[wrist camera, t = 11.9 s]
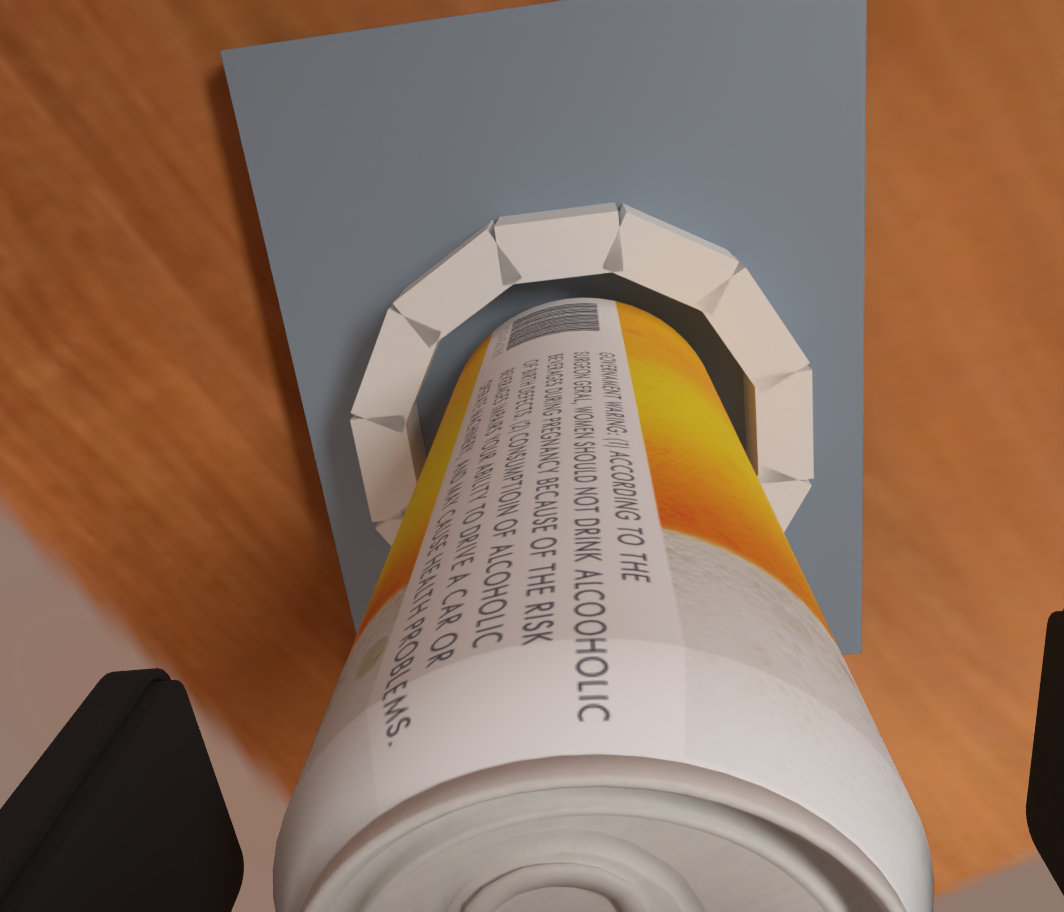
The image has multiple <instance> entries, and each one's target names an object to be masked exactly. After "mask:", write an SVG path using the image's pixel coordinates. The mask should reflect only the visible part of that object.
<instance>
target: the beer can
mask: <svg viewBox="0 0 1064 912" xmlns="http://www.w3.org/2000/svg"><path fill="white" fill-rule="evenodd" d="M273 895H274V903H275V909H276V912H933V899H934V876H933V868H932V861H931V854H930V848H929V845H928V842H927V839H926V835H925V832H924V829H923V825H922V822H921V819H920V817H919V815H918V813H917V811H916V809H915V807H914V805H913V803H912V801H911V798H910V796H909V794H908V792H907V790H906V788H905V786H904V784H903V782H902V780H901V777H900V775H899V773H898V771H897V769H896V767H895V765H894V763H893V761H892V759H891V757H890V754H889V752H888V750H887V748H886V746H885V744H884V742H883V740H882V738H881V736H880V733H879V731H878V729H877V727H876V725H875V723H874V721H873V719H872V717H871V715H870V713H869V710H868V708H867V706H866V704H865V702H864V700H863V698H862V696H861V694H860V692H859V689H858V687H857V685H856V683H855V681H854V679H853V677H852V675H851V673H850V671H849V668H848V666H847V664H846V662H845V660H844V658H843V656H842V654H841V652H840V650H839V648H838V645H837V643H836V641H835V639H834V637H833V635H832V633H831V631H830V629H829V627H828V624H827V622H826V620H825V618H824V616H823V614H822V612H821V610H820V608H819V606H818V603H817V601H816V599H815V597H814V595H813V593H812V591H811V589H810V587H809V585H808V583H807V580H806V578H805V576H804V574H803V572H802V570H801V568H800V566H799V564H798V562H797V559H796V557H795V555H794V553H793V551H792V549H791V547H790V545H789V543H788V541H787V539H786V536H785V534H784V532H783V530H782V528H781V526H780V524H779V522H778V520H777V518H776V515H775V513H774V511H773V509H772V507H771V505H770V503H769V501H768V499H767V497H766V494H765V492H764V490H763V488H762V486H761V484H760V482H759V480H758V478H757V476H756V474H755V471H754V469H753V467H752V465H751V463H750V461H749V459H748V457H747V455H746V453H745V450H744V448H743V446H742V444H741V442H740V440H739V438H738V436H737V434H736V432H735V430H734V427H733V425H732V423H731V421H730V419H729V417H728V415H727V413H726V411H725V409H724V406H723V404H722V402H721V400H720V398H719V396H718V394H717V392H716V390H715V388H714V385H713V383H712V381H711V379H710V377H709V375H708V373H707V371H706V369H705V367H704V365H703V363H702V362H701V360H700V358H699V357H698V355H697V354H696V352H695V351H694V350H693V349H692V347H691V346H690V345H689V344H688V343H687V341H686V340H685V339H684V338H683V337H682V336H681V335H680V334H678V333H677V332H676V331H675V330H674V329H673V328H672V327H670V326H669V325H668V324H666V323H665V322H663V321H662V320H661V319H659V318H657V317H655V316H654V315H652V314H650V313H648V312H646V311H644V310H642V309H639V308H637V307H634V306H632V305H629V304H625V303H621V302H618V301H613V300H607V299H601V298H570V299H562V300H557V301H552V302H548V303H545V304H542V305H538V306H535V307H533V308H530V309H528V310H526V311H524V312H522V313H519V314H518V315H516V316H514V317H513V318H511V319H509V320H508V321H506V322H505V323H503V324H502V325H501V326H499V327H498V328H497V329H495V330H494V331H493V332H492V333H491V334H490V335H489V336H488V337H487V338H486V339H485V340H484V341H483V342H482V343H481V344H480V345H479V346H478V348H477V349H476V350H475V351H474V353H473V354H472V355H471V357H470V359H469V360H468V362H467V363H466V365H465V367H464V369H463V371H462V373H461V375H460V377H459V379H458V382H457V384H456V387H455V389H454V392H453V394H452V397H451V399H450V402H449V404H448V407H447V409H446V412H445V414H444V417H443V419H442V422H441V424H440V427H439V429H438V432H437V434H436V437H435V439H434V442H433V444H432V447H431V449H430V452H429V454H428V457H427V459H426V462H425V464H424V467H423V469H422V472H421V474H420V477H419V479H418V482H417V484H416V487H415V489H414V492H413V494H412V497H411V499H410V502H409V504H408V507H407V509H406V512H405V514H404V517H403V519H402V522H401V524H400V527H399V529H398V532H397V534H396V537H395V539H394V542H393V544H392V547H391V549H390V552H389V554H388V557H387V559H386V562H385V565H384V567H383V570H382V572H381V575H380V577H379V580H378V582H377V585H376V587H375V590H374V592H373V595H372V597H371V600H370V602H369V605H368V607H367V610H366V612H365V615H364V617H363V620H362V622H361V625H360V627H359V630H358V632H357V635H356V637H355V640H354V642H353V645H352V647H351V650H350V652H349V655H348V657H347V660H346V662H345V665H344V667H343V670H342V672H341V675H340V677H339V680H338V682H337V685H336V687H335V690H334V692H333V695H332V697H331V700H330V702H329V705H328V707H327V710H326V712H325V715H324V717H323V720H322V722H321V725H320V727H319V730H318V732H317V735H316V737H315V740H314V742H313V745H312V747H311V750H310V752H309V755H308V757H307V760H306V762H305V765H304V767H303V770H302V772H301V775H300V777H299V780H298V782H297V785H296V787H295V790H294V792H293V795H292V798H291V800H290V803H289V805H288V808H287V810H286V813H285V816H284V819H283V822H282V826H281V829H280V832H279V836H278V839H277V844H276V851H275V859H274V867H273Z"/></svg>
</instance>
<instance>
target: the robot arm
mask: <svg viewBox="0 0 1064 912" xmlns="http://www.w3.org/2000/svg"><path fill="white" fill-rule="evenodd" d="M1026 817H1027V824H1028V828H1029V832H1030V835H1031V837H1032V840H1033V842H1034V844H1035V846H1036V848H1037V850H1038V852H1039V854H1040V855H1041V857H1042V859H1043V861H1044V862H1045V864H1046V866H1047V867H1048V869H1049V871H1050V873H1051V874H1052V876H1053V878H1054V880H1055V881H1056V883H1057V885H1058V886H1059V888H1060V890H1061V892H1062V893H1063V895H1064V610H1063V611H1055V612H1053V613H1052V614H1051V615H1050V617H1049V619H1048V623H1047V630H1046V639H1045V647H1044V656H1043V664H1042V673H1041V682H1040V690H1039V699H1038V708H1037V716H1036V725H1035V734H1034V742H1033V751H1032V759H1031V768H1030V777H1029V785H1028V794H1027V803H1026ZM243 873H244V861H243V855H242V851H241V848H240V845H239V842H238V840H237V836H236V834H235V831H234V828H233V825H232V822H231V819H230V816H229V813H228V810H227V808H226V805H225V802H224V799H223V796H222V793H221V790H220V787H219V785H218V781H217V779H216V776H215V773H214V770H213V767H212V764H211V761H210V758H209V755H208V753H207V750H206V747H205V744H204V741H203V738H202V735H201V732H200V729H199V727H198V724H197V721H196V718H195V715H194V712H193V709H192V706H191V703H190V701H189V698H188V695H187V692H186V690H185V688H184V685H183V684H182V683H181V682H180V681H177V680H171V679H170V677H169V675H168V674H167V673H166V672H165V671H164V670H162V669H158V668H155V669H142V670H130V671H117V672H111V673H108V674H106V675H105V676H104V677H103V678H102V679H100V681H99V682H98V683H97V685H96V686H95V688H94V689H93V690H92V691H91V692H90V694H89V695H88V696H87V698H86V699H85V700H84V701H83V703H82V704H81V705H80V707H79V708H78V709H77V711H76V712H75V713H74V714H73V716H72V717H71V718H70V720H69V721H68V722H67V723H66V725H65V726H64V727H63V729H62V730H61V731H60V733H59V734H58V735H57V737H56V738H55V739H54V740H53V742H52V743H51V744H50V746H49V747H48V748H47V750H46V751H45V752H44V753H43V755H42V756H41V757H40V759H39V760H38V761H37V762H36V764H35V765H34V766H33V768H32V769H31V770H30V772H29V773H28V774H27V775H26V777H25V778H24V779H23V781H22V782H21V783H20V784H19V786H18V787H17V788H16V790H15V791H14V792H13V794H12V795H11V796H10V798H9V799H8V800H7V801H6V803H5V804H4V805H3V807H2V808H1V809H0V912H231V911H232V908H233V906H234V903H235V901H236V898H237V896H238V893H239V891H240V888H241V884H242V880H243Z"/></svg>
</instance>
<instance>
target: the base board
mask: <svg viewBox="0 0 1064 912" xmlns="http://www.w3.org/2000/svg"><path fill="white" fill-rule="evenodd" d="M220 52H221V56H222V61H223V65H224V69H225V74H226V78H227V82H228V86H229V91H230V95H231V99H232V104H233V108H234V112H235V117H236V121H237V125H238V129H239V134H240V138H241V142H242V147H243V151H244V155H245V159H246V164H247V168H248V172H249V177H250V181H251V185H252V189H253V194H254V198H255V202H256V207H257V211H258V215H259V219H260V224H261V228H262V232H263V237H264V241H265V245H266V249H267V254H268V258H269V262H270V267H271V271H272V275H273V279H274V284H275V288H276V292H277V297H278V301H279V305H280V309H281V314H282V318H283V322H284V327H285V331H286V335H287V340H288V344H289V348H290V352H291V357H292V361H293V365H294V370H295V374H296V378H297V382H298V387H299V391H300V395H301V400H302V404H303V408H304V412H305V417H306V421H307V425H308V430H309V434H310V438H311V442H312V447H313V451H314V455H315V460H316V464H317V468H318V472H319V477H320V481H321V485H322V490H323V494H324V498H325V502H326V507H327V511H328V515H329V520H330V524H331V528H332V533H333V537H334V541H335V545H336V550H337V554H338V558H339V563H340V567H341V571H342V575H343V580H344V584H345V588H346V593H347V597H348V601H349V605H350V610H351V614H352V618H353V623H354V627H355V631H356V635H357V632H358V630H359V627H360V625H361V622H362V620H363V617H364V615H365V612H366V610H367V607H368V605H369V602H370V600H371V597H372V595H373V592H374V590H375V587H376V585H377V582H378V580H379V577H380V575H381V572H382V570H383V567H384V565H385V562H386V559H387V557H388V554H389V552H390V549H391V547H392V544H393V542H394V539H395V537H396V534H397V532H398V529H399V527H400V524H401V522H402V519H403V517H404V514H405V512H406V509H407V507H408V504H409V502H410V499H411V497H412V494H413V492H414V489H415V487H416V484H417V482H418V479H419V477H420V474H421V472H422V469H423V467H424V464H425V462H426V459H427V457H428V454H429V452H430V449H431V447H432V444H433V442H434V439H435V437H436V434H437V432H438V429H439V427H440V424H441V422H442V419H443V417H444V414H445V412H446V409H447V407H448V404H449V402H450V399H451V397H452V394H453V392H454V389H455V387H456V384H457V382H458V379H459V377H460V375H461V373H462V371H463V369H464V367H465V365H466V363H467V362H468V360H469V359H470V357H471V355H472V354H473V353H474V351H475V350H476V349H477V348H478V346H479V345H480V344H481V343H482V342H483V341H484V340H485V339H486V338H487V337H488V336H489V335H490V334H491V333H492V332H493V331H494V330H495V329H497V328H498V327H499V326H501V325H502V324H503V323H505V322H506V321H508V320H509V319H511V318H513V317H514V316H516V315H518V314H519V313H522V312H524V311H526V310H528V309H530V308H533V307H535V306H538V305H542V304H545V303H548V302H552V301H557V300H562V299H570V298H601V299H607V300H613V301H618V302H621V303H625V304H629V305H632V306H634V307H637V308H639V309H642V310H644V311H646V312H648V313H650V314H652V315H654V316H655V317H657V318H659V319H661V320H662V321H663V322H665V323H666V324H668V325H669V326H670V327H672V328H673V329H674V330H675V331H676V332H677V333H678V334H680V335H681V336H682V337H683V338H684V339H685V340H686V341H687V343H688V344H689V345H690V346H691V347H692V349H693V350H694V351H695V352H696V354H697V355H698V357H699V358H700V360H701V362H702V363H703V365H704V367H705V369H706V371H707V373H708V375H709V377H710V379H711V381H712V383H713V385H714V388H715V390H716V392H717V394H718V396H719V398H720V400H721V402H722V404H723V406H724V409H725V411H726V413H727V415H728V417H729V419H730V421H731V423H732V425H733V427H734V430H735V432H736V434H737V436H738V438H739V440H740V442H741V444H742V446H743V448H744V450H745V453H746V455H747V457H748V459H749V461H750V463H751V465H752V467H753V469H754V471H755V474H756V476H757V478H758V480H759V482H760V484H761V486H762V488H763V490H764V492H765V494H766V497H767V499H768V501H769V503H770V505H771V507H772V509H773V511H774V513H775V515H776V518H777V520H778V522H779V524H780V526H781V528H782V530H783V532H784V534H785V536H786V539H787V541H788V543H789V545H790V547H791V549H792V551H793V553H794V555H795V557H796V559H797V562H798V564H799V566H800V568H801V570H802V572H803V574H804V576H805V578H806V580H807V583H808V585H809V587H810V589H811V591H812V593H813V595H814V597H815V599H816V601H817V603H818V606H819V608H820V610H821V612H822V614H823V616H824V618H825V620H826V622H827V624H828V627H829V629H830V631H831V633H832V635H833V637H834V639H835V641H836V643H837V645H838V648H839V650H840V652H841V654H842V655H843V654H856V653H861V644H862V515H863V386H864V258H865V129H866V0H562V1H555V2H549V3H542V4H535V5H528V6H521V7H514V8H508V9H501V10H494V11H487V12H480V13H474V14H467V15H460V16H453V17H446V18H439V19H433V20H426V21H419V22H412V23H405V24H398V25H392V26H385V27H378V28H371V29H364V30H357V31H351V32H344V33H337V34H330V35H323V36H317V37H310V38H303V39H296V40H289V41H282V42H276V43H269V44H262V45H255V46H248V47H241V48H235V49H228V50H221V51H220Z"/></svg>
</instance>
